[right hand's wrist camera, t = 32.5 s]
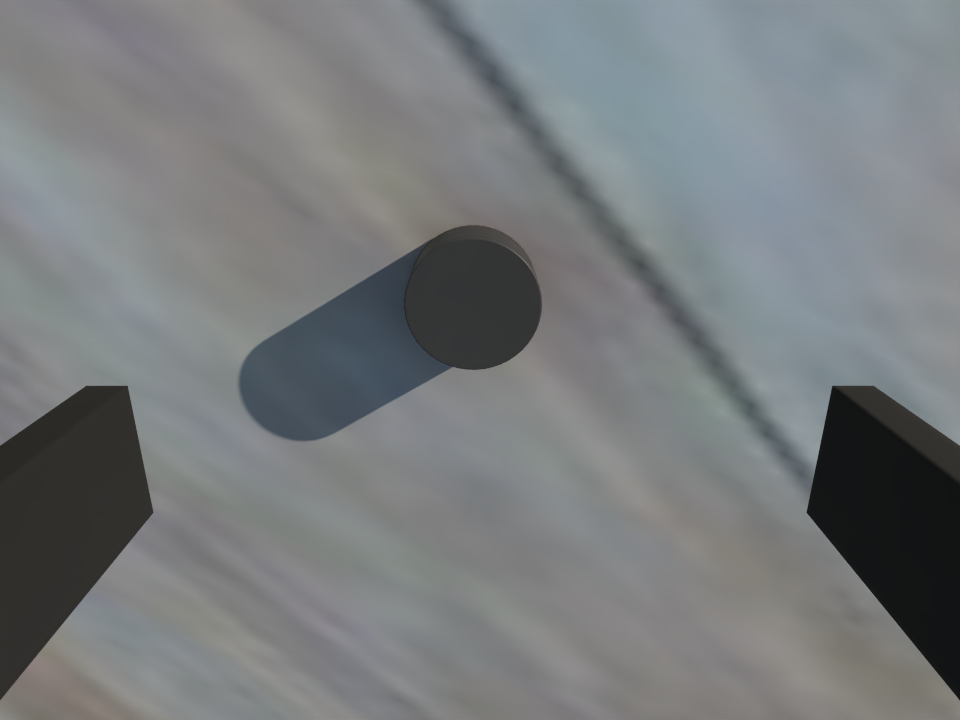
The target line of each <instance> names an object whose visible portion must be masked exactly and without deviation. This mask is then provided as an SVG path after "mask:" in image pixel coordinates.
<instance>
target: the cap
mask: <svg viewBox="0 0 960 720" xmlns="http://www.w3.org/2000/svg"><path fill="white" fill-rule="evenodd" d="M541 310H542V298H541V291H540V287H539V284H538V281H537V278H536V275H535V272H534V269H533V266H532V263H531V261H530V259H529V257H528V255H527V254H526V253H525V251H524V250H523V249H522V247H521V246H520V245H519V244H518V243H517V242H516V241H514V240H513V239H512V238H511V237H509V236H508V235H506V234H504V233H502V232H500V231H498V230H496V229H492V228H489V227H484V226H462V227H458V228H454V229H451V230H448V231H446V232H444V233H442V234H440V235H439V236H437V237H436V238H435V239H433V240H432V241H431V242H430V243H429V244H428V245H427V246H426V247H425V248H424V249H423V250H422V252H421V253H420V255H419V257H418V258H417V260H416V262H415V265H414V267H413V270H412V273H411V276H410V278H409V281H408V285H407V288H406V292H405V315H406V319H407V323H408V326H409V328H410V330H411V333H412V335H413V336H414V338H415V339H416V341H417V342H418V343H419V345H420V346H421V347H422V348H423V349H424V350H425V351H426V352H427V353H428V354H430V355H431V356H432V357H434V358H435V359H437V360H439V361H440V362H442V363H444V364H447V365H449V366H453V367H456V368H461V369H470V370H477V369H486V368H490V367H494V366H497V365H500V364H502V363H504V362H506V361H508V360H510V359H511V358H513V357H514V356H516V355H517V354H518V353H519V352H521V351H522V350H523V349H524V348H525V346H526V345H527V344H528V343H529V341H530V340H531V339H532V337H533V335H534V333H535V331H536V329H537V327H538V324H539V321H540V317H541Z"/></svg>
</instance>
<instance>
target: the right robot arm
mask: <svg viewBox="0 0 960 720" xmlns="http://www.w3.org/2000/svg"><path fill="white" fill-rule="evenodd" d="M152 514H153V509H152V504H151V499H150V494H149V489H148V484H147V479H146V474H145V469H144V464H143V460H142V455H141V450H140V445H139V440H138V435H137V430H136V425H135V420H134V415H133V410H132V405H131V401H130V396H129V391H128V386H86V387H84V388H83V389H81V390H80V391H78V392H77V393H76V394H74V395H73V396H71V397H70V398H68V399H67V400H65V401H64V402H63V403H61V404H60V405H58V406H57V407H55V408H54V409H53V410H51V411H50V412H48V413H47V414H45V415H44V416H42V417H41V418H40V419H38V420H37V421H35V422H34V423H32V424H31V425H29V426H28V427H27V428H25V429H24V430H22V431H21V432H19V433H18V434H17V435H15V436H14V437H12V438H11V439H9V440H8V441H6V442H5V443H4V444H2V445H1V446H0V700H1V699H2V697H3V696H4V695H5V694H6V692H7V691H8V690H9V689H10V687H11V686H12V685H13V684H14V683H15V681H16V680H17V679H18V678H19V676H20V675H21V674H22V673H23V672H24V670H25V669H26V668H27V667H28V665H29V664H30V663H31V662H32V661H33V659H34V658H35V657H36V656H37V654H38V653H39V652H40V651H41V650H42V648H43V647H44V646H45V645H46V643H47V642H48V641H49V640H50V638H51V637H52V636H53V635H54V634H55V632H56V631H57V630H58V629H59V627H60V626H61V625H62V624H63V623H64V621H65V620H66V619H67V618H68V616H69V615H70V614H71V613H72V612H73V610H74V609H75V608H76V607H77V605H78V604H79V603H80V602H81V601H82V599H83V598H84V597H85V596H86V594H87V593H88V592H89V591H90V589H91V588H92V587H93V586H94V585H95V583H96V582H97V581H98V580H99V578H100V577H101V576H102V575H103V574H104V572H105V571H106V570H107V569H108V567H109V566H110V565H111V564H112V563H113V561H114V560H115V559H116V558H117V556H118V555H119V554H120V553H121V552H122V550H123V549H124V548H125V547H126V545H127V544H128V543H129V542H130V540H131V539H132V538H133V537H134V536H135V534H136V533H137V532H138V531H139V529H140V528H141V527H142V526H143V525H144V523H145V522H146V521H147V520H148V518H149V517H150V516H151V515H152ZM807 514H808V515H809V516H810V517H811V518H812V520H813V521H814V522H815V523H816V525H817V526H818V527H819V528H820V529H821V531H822V532H823V533H824V534H825V536H826V537H827V538H828V539H829V540H830V542H831V543H832V544H833V545H834V547H835V548H836V549H837V550H838V552H839V553H840V554H841V555H842V556H843V558H844V559H845V560H846V561H847V563H848V564H849V565H850V566H851V567H852V569H853V570H854V571H855V572H856V574H857V575H858V576H859V577H860V578H861V580H862V581H863V582H864V583H865V585H866V586H867V587H868V588H869V589H870V591H871V592H872V593H873V594H874V596H875V597H876V598H877V599H878V601H879V602H880V603H881V604H882V605H883V607H884V608H885V609H886V610H887V612H888V613H889V614H890V615H891V616H892V618H893V619H894V620H895V621H896V623H897V624H898V625H899V626H900V627H901V629H902V630H903V631H904V632H905V634H906V635H907V636H908V637H909V638H910V640H911V641H912V642H913V643H914V645H915V646H916V647H917V648H918V650H919V651H920V652H921V653H922V654H923V656H924V657H925V658H926V659H927V661H928V662H929V663H930V664H931V665H932V667H933V668H934V669H935V670H936V672H937V673H938V674H939V675H940V676H941V678H942V679H943V680H944V681H945V683H946V684H947V685H948V686H949V687H950V689H951V690H952V691H953V692H954V694H955V695H956V696H957V697H958V699H959V700H960V446H959V445H958V444H956V443H955V442H954V441H952V440H951V439H949V438H948V437H946V436H945V435H943V434H942V433H941V432H939V431H938V430H936V429H935V428H933V427H932V426H931V425H929V424H928V423H926V422H925V421H923V420H922V419H920V418H919V417H918V416H916V415H915V414H913V413H912V412H910V411H909V410H907V409H906V408H905V407H903V406H902V405H900V404H899V403H897V402H896V401H895V400H893V399H892V398H890V397H889V396H887V395H886V394H884V393H883V392H882V391H880V390H879V389H877V388H876V387H874V386H832V391H831V396H830V401H829V405H828V410H827V415H826V420H825V425H824V430H823V435H822V440H821V445H820V450H819V455H818V460H817V464H816V469H815V474H814V479H813V484H812V489H811V494H810V499H809V504H808V509H807Z"/></svg>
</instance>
